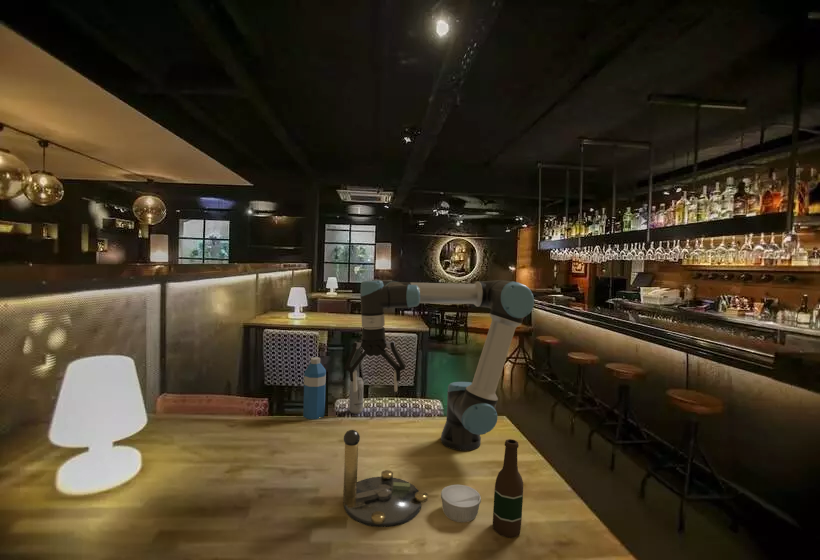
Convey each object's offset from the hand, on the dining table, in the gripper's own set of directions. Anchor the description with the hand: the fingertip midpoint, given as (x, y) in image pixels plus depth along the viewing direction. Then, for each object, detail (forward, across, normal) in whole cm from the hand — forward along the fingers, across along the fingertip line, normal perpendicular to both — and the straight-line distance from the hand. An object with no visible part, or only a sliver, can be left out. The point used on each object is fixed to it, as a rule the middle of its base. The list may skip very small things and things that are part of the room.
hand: (375, 390), depth 146 cm
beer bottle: (+29, +39, -28) cm, 56 cm away
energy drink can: (+25, -18, +47) cm, 56 cm away
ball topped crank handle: (+24, +1, -24) cm, 33 cm away
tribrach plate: (+26, +4, -21) cm, 34 cm away
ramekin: (+28, +26, -22) cm, 45 cm away
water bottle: (+24, -34, +40) cm, 58 cm away
